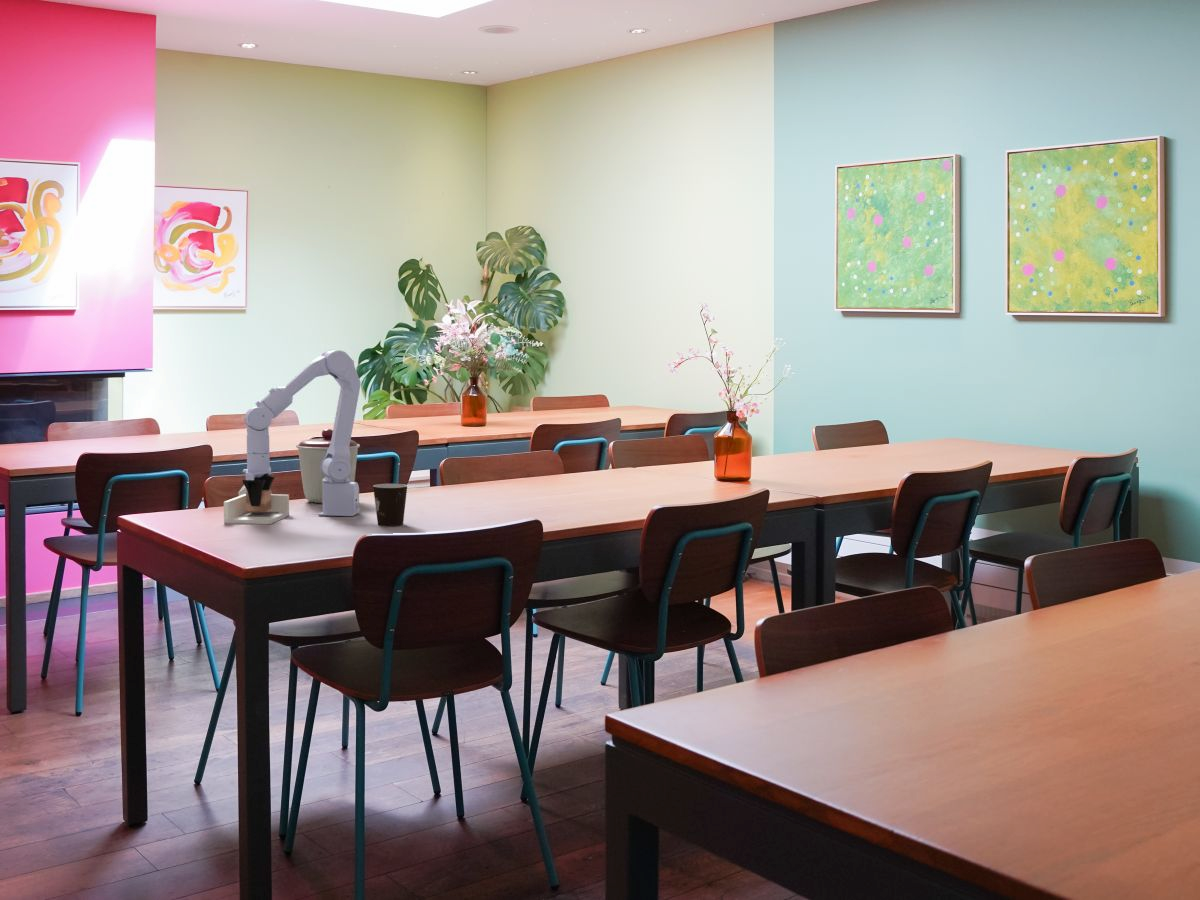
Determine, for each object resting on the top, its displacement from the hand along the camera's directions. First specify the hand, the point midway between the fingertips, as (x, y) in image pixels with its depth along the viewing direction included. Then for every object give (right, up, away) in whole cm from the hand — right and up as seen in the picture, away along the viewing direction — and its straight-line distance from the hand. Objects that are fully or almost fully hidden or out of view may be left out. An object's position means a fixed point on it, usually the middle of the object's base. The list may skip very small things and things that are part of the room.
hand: (259, 504), depth 329 cm
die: (-5, -2, +16) cm, 17 cm away
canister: (+11, -1, +34) cm, 36 cm away
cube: (0, -1, 0) cm, 2 cm away
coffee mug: (+36, -5, -10) cm, 38 cm away
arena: (0, -4, -1) cm, 4 cm away
